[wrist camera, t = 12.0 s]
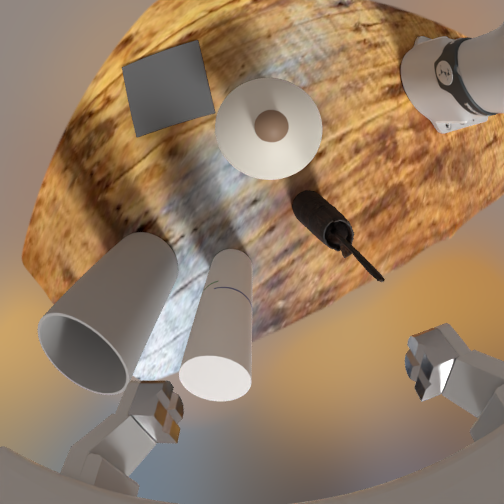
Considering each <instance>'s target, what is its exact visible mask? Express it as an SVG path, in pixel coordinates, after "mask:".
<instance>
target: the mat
mask: <svg viewBox="0 0 504 504" xmlns="http://www.w3.org/2000/svg"><path fill="white" fill-rule="evenodd" d="M122 70H123V76H124V81H125V86H126V91H127V96H128V101H129V106H130V111H131V115H132V120H133V124H134V128H135V133H136V137H140V136H143V135H146V134H148V133H151V132H154V131H157V130H160V129H163V128H166V127H169V126H172V125H175V124H179V123H182V122H185V121H188V120H192V119H195V118H199V117H203V116H206V115H210V114H214V113H215V109H214V105H213V101H212V97H211V92H210V88H209V84H208V80H207V76H206V71H205V67H204V63H203V59H202V54H201V50H200V46H199V42H198V40H196V41H193V42H189V43H186V44H183V45H179V46H176V47H173V48H170V49H167V50H165V51H162V52H159V53H156V54H154V55H151V56H148V57H146V58H143V59H141V60H138V61H136V62H134V63H131V64H129V65H127V66H124V67H122Z"/></svg>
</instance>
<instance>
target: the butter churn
mask: <svg viewBox="0 0 504 504" xmlns="http://www.w3.org/2000/svg"><path fill="white" fill-rule="evenodd" d="M292 209H293V212H294V214H295V216H296V218H297V219H298V220H299V221H300V222H301V223H302V224H303V225H304V226H305V227H307V228H308V229H309V230H310V231H311V232H312V233H313V234H314V235H315V236H316V237H317V238H318V239H319V240H320V241H322V242H323V243H324V244H325V245H326V246H328V247H329V248H331V249H335V250H336V251H340V250H341V251H342V255H343V256H344V258H346V257H348V256H349V255H351V254H353V255H354V256H355V257H356V259H357V260H358V261H359V262H360V263H361V264H362V265H363V266H364V268H365V269H366V270H367V271H368V272H369V273H370V274H371V275H372V276H373V277H374V278H376V279H377V281H380V282H383V281H384V278H383V277H382V275H381V274H380V273H379V272H378V271H377V270H376V269H375V268H374V267H373V266H372V265H371V264H370V263H369V262H368V261H367V260H366V259H365V258H364V257H363V256H362V255H361V254H360V252H359V251H357V250H356V249H355V248H354V247H353V246H352V241H353V236H354V232H353V230H352V226H351V225H350V223H349V221H347V219H346V218H345V217H344V216H343V215H342V214H341V213H340V212H339V211H338V210H337V209H336V208H335V207H334V206H332V205H331V204H329V203H328V202H327V201H326V200H325V199H324V198H323V197H321V196H320V195H319V194H318V193H316V192H314V191H304V192H302V193H300V194H299V195H298V196H297V197H296V198H295V200H294V202H293V205H292Z"/></svg>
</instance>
